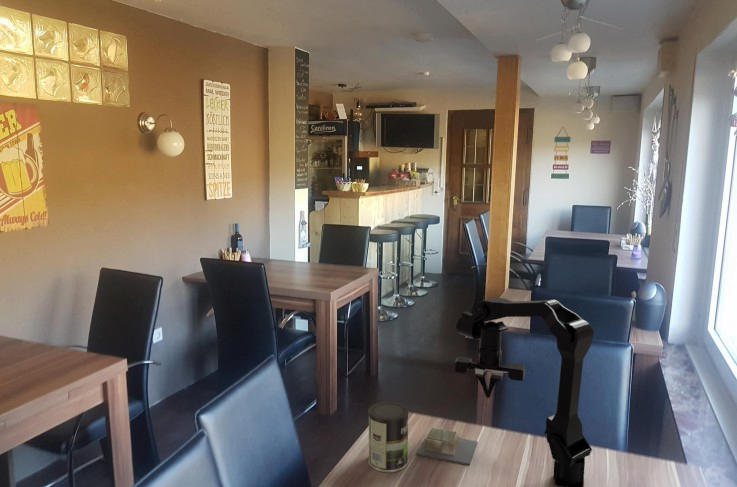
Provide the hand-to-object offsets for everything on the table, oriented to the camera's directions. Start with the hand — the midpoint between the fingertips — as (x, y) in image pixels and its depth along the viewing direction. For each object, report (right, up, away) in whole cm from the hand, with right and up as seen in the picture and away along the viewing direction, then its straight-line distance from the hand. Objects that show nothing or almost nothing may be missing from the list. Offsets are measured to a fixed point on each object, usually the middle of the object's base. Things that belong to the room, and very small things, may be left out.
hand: (488, 397), depth 150 cm
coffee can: (-28, -14, -11) cm, 33 cm away
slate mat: (-12, -13, -4) cm, 18 cm away
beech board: (-10, -11, -5) cm, 15 cm away
